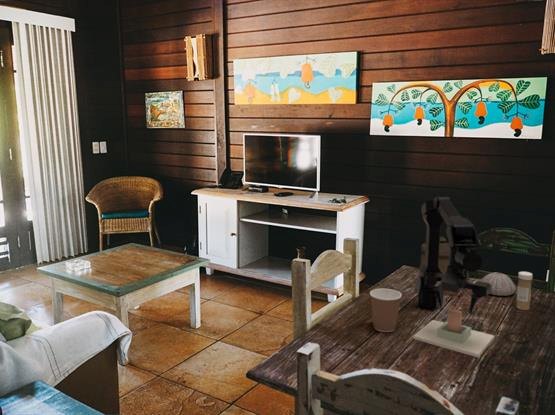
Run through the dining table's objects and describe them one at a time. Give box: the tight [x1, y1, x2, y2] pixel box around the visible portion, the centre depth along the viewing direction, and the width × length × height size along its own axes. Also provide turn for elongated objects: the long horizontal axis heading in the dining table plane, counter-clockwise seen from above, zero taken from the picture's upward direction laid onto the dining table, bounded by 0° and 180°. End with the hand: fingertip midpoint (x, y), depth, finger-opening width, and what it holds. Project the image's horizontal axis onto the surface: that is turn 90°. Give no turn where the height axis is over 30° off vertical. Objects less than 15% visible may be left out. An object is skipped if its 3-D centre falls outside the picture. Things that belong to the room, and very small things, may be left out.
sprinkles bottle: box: [515, 271, 534, 311], centre depth 178 cm, size 5×5×14 cm
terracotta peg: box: [447, 308, 463, 334], centre depth 154 cm, size 4×4×8 cm
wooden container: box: [419, 236, 457, 296], centre depth 198 cm, size 15×15×22 cm
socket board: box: [412, 319, 495, 358], centre depth 154 cm, size 20×16×4 cm
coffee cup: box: [369, 288, 402, 333], centre depth 162 cm, size 10×10×12 cm
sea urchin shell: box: [480, 271, 517, 297], centre depth 195 cm, size 13×14×8 cm
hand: (455, 310), depth 153 cm, fingers open, 9 cm apart
